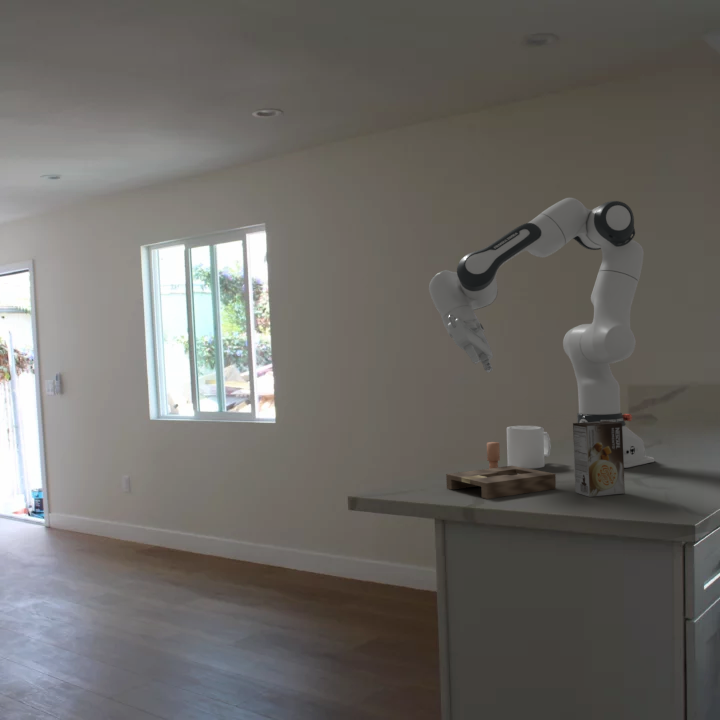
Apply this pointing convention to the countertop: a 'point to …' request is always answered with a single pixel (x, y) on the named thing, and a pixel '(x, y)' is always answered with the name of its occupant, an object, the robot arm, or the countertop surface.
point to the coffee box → (598, 458)
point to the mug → (527, 446)
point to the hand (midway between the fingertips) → (483, 366)
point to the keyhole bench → (503, 481)
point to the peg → (493, 454)
